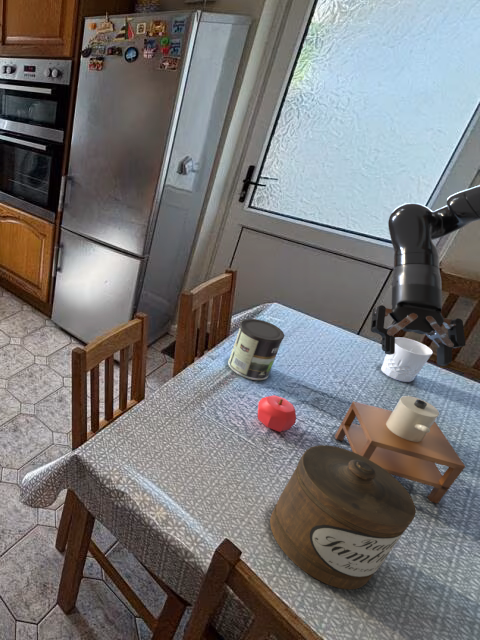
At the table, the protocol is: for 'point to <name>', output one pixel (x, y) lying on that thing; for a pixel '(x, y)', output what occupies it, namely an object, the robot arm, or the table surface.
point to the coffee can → (255, 349)
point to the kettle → (412, 418)
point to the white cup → (406, 359)
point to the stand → (401, 449)
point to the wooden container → (340, 516)
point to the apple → (276, 413)
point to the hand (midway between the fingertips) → (415, 359)
